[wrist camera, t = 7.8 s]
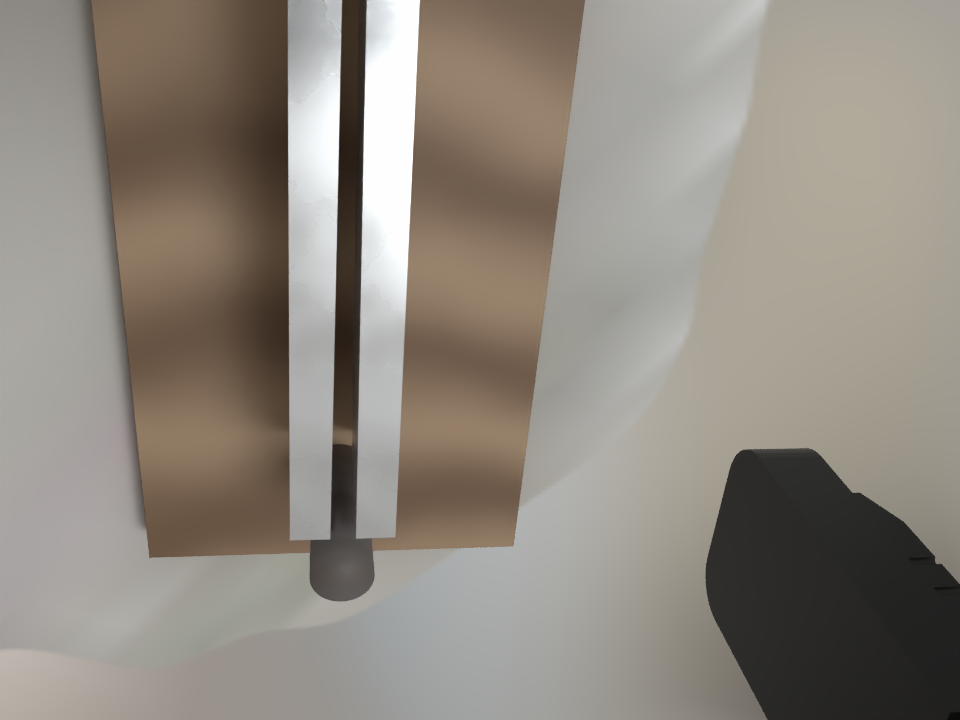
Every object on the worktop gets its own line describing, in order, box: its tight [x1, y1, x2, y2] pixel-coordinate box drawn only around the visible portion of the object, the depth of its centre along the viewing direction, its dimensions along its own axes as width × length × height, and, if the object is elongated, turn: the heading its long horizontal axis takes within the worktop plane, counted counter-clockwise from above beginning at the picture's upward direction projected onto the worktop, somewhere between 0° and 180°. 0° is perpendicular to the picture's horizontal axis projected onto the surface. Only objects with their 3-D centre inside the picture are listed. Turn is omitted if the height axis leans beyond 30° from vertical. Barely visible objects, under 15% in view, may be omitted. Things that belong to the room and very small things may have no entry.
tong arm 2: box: [288, 0, 342, 540], centre depth 25 cm, size 20×2×5 cm, turn 175°
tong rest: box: [91, 0, 585, 601], centre depth 27 cm, size 30×14×8 cm, turn 175°
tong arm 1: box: [351, 0, 420, 539], centre depth 26 cm, size 20×2×5 cm, turn 176°
